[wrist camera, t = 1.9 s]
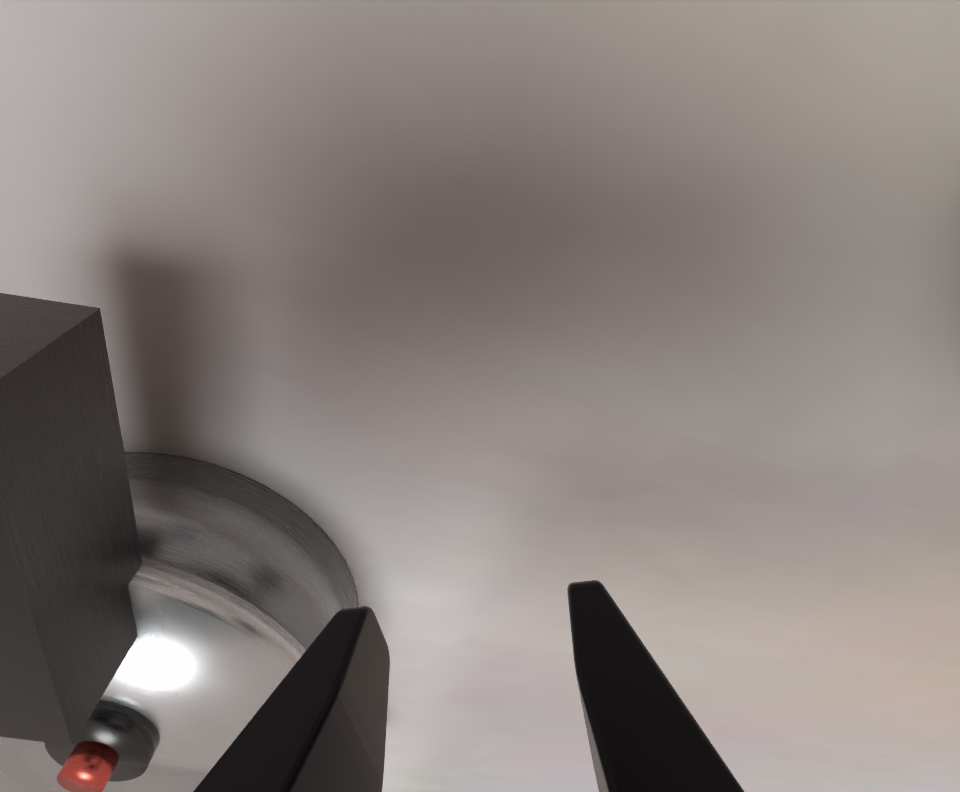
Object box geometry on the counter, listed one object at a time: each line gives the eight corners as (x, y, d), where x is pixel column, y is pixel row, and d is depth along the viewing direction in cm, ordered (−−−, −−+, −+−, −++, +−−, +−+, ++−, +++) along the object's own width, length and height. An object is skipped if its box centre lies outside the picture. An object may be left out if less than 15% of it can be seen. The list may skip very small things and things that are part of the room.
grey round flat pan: (466, 682, 28) (460, 787, 24) (233, 764, 32) (196, 865, 28) (-19, 172, 17) (-170, 214, 13) (-277, 391, 21) (-449, 473, 18)
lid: (332, 831, 26) (303, 964, 22) (-37, 788, 25) (-129, 919, 21) (364, 344, 14) (317, 454, 11) (-310, 241, 14) (-607, 320, 10)
